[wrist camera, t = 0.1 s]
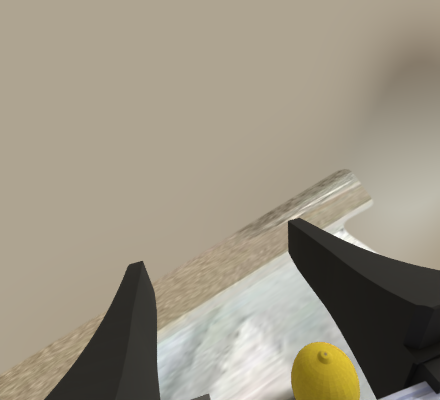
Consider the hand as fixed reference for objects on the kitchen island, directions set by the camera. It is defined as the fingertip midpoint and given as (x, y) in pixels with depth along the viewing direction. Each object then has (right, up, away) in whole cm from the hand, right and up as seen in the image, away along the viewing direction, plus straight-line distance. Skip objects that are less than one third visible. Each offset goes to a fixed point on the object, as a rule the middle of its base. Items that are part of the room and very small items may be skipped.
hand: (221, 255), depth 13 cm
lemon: (+10, -17, +12) cm, 23 cm away
